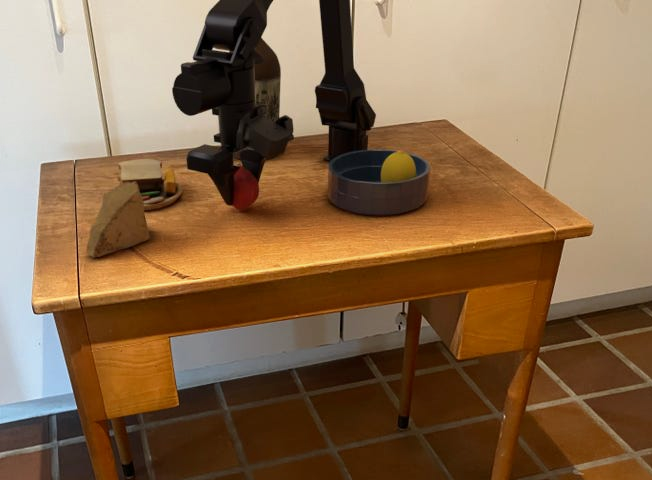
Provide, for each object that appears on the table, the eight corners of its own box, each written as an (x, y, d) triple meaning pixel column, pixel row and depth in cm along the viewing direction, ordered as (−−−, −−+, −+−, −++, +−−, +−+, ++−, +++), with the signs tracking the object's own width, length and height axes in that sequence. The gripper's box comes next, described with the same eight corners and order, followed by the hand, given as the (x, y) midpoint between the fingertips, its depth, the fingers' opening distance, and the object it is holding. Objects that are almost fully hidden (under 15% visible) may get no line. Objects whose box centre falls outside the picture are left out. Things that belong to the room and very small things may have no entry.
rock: (84, 254, 102) (154, 235, 103) (67, 196, 103) (136, 177, 104) (93, 268, 113) (156, 250, 114) (77, 215, 113) (140, 198, 114)
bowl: (309, 204, 120) (309, 171, 117) (358, 174, 131) (359, 143, 128) (398, 225, 112) (401, 191, 109) (443, 191, 123) (446, 159, 120)
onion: (264, 205, 121) (263, 158, 116) (253, 219, 116) (251, 170, 112) (231, 202, 122) (228, 155, 118) (218, 215, 118) (215, 167, 113)
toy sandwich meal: (104, 214, 120) (100, 186, 117) (114, 184, 131) (111, 158, 128) (181, 210, 120) (178, 183, 117) (184, 181, 131) (182, 155, 129)
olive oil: (216, 154, 143) (206, 14, 129) (255, 141, 149) (250, 5, 135) (254, 166, 136) (248, 20, 122) (293, 152, 142) (292, 11, 128)
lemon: (413, 206, 117) (417, 156, 112) (378, 204, 118) (381, 155, 113) (414, 193, 121) (418, 145, 117) (380, 191, 122) (383, 144, 118)
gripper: (241, 123, 99) (246, 230, 108) (315, 91, 111) (314, 190, 120) (179, 112, 105) (189, 214, 113) (256, 83, 117) (259, 177, 126)
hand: (241, 199), depth 118 cm, fingers closed on onion, 6 cm apart
